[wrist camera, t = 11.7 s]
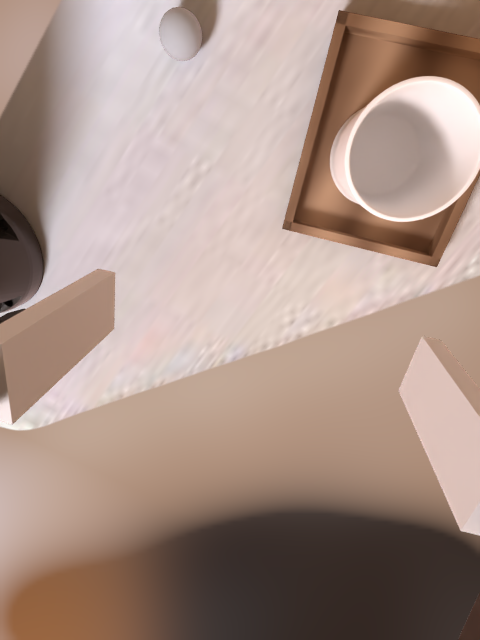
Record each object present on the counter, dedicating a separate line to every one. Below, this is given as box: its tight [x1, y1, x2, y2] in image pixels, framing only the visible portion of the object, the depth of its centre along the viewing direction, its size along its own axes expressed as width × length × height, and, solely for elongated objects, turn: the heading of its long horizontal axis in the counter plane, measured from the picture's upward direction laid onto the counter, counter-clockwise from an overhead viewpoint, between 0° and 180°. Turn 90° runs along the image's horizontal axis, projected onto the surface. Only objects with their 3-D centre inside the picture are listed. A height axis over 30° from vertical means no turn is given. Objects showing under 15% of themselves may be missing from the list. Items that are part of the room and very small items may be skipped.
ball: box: [159, 7, 202, 61], centre depth 31 cm, size 4×4×4 cm
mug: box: [330, 76, 480, 222], centre depth 27 cm, size 12×8×12 cm
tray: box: [282, 10, 480, 267], centre depth 32 cm, size 15×17×2 cm
